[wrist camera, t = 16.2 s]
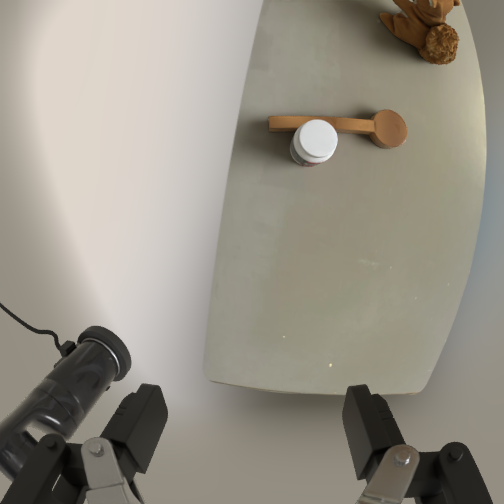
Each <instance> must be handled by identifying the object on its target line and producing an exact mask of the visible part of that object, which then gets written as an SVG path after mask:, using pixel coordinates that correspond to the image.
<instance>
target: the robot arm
mask: <svg viewBox="0 0 504 504" xmlns="http://www.w3.org/2000/svg"><path fill="white" fill-rule="evenodd" d="M0 307H1V308H2V309H3V310H4V311H5V312H6V313H8V314H9V315H10V316H11V317H13V318H14V319H15V320H17V321H18V322H19V323H21V324H22V325H23V326H25V327H26V328H27V329H29V330H31V331H33V332H35V333H38V334H49V335H52V336H53V337H54V341H55V345H56V347H57V349H58V350H59V351H60V353H61V356H62V358H61V359H60V360H59V361H58V362H57V363H56V364H55V365H54V369H53V370H52V371H51V372H50V373H49V374H48V375H47V376H46V377H45V378H44V379H43V380H42V381H41V382H40V383H39V384H38V385H37V386H36V387H35V388H34V389H33V390H32V391H31V392H30V393H29V394H28V396H27V397H26V398H25V399H24V400H23V401H22V402H21V403H20V404H19V405H18V406H17V407H16V408H15V409H14V410H13V411H12V412H11V413H10V414H9V415H8V416H7V417H6V418H4V419H3V420H2V421H1V422H0V471H1V472H2V473H3V474H4V475H5V476H6V477H7V478H8V479H9V480H10V481H11V482H12V484H11V486H10V488H9V489H8V491H7V493H6V494H5V496H4V498H3V500H2V501H1V503H0V504H83V503H84V501H85V498H87V501H88V504H146V502H145V500H144V498H143V496H142V494H141V492H140V489H139V487H138V485H137V483H136V480H135V479H134V475H135V473H136V472H139V473H143V474H145V473H146V471H147V468H148V466H149V463H150V461H151V458H152V456H153V454H154V451H155V448H156V446H157V444H158V441H159V439H160V436H161V434H162V432H163V429H164V427H165V424H166V422H167V418H168V410H167V406H166V403H165V400H164V397H163V394H162V391H161V388H160V386H158V385H151V384H141V386H140V387H139V389H138V391H137V392H136V393H133V392H132V393H131V394H129V395H128V396H126V397H125V398H124V399H123V400H122V402H121V404H120V405H119V408H117V410H116V412H115V414H114V415H113V416H112V418H111V419H110V421H109V422H108V424H107V426H106V427H105V429H104V431H103V432H102V434H101V435H100V437H94V438H91V439H89V440H87V441H85V442H84V444H75V443H66V441H67V440H69V439H71V437H72V436H73V435H74V433H75V432H76V430H77V429H78V428H79V426H80V425H81V424H82V422H83V421H84V419H85V418H86V416H87V415H88V414H89V412H90V411H91V409H92V408H93V407H94V405H95V404H96V403H97V401H98V400H99V399H100V397H101V396H102V394H103V393H104V392H105V391H107V390H108V389H109V388H110V386H109V385H110V384H111V382H112V381H113V380H114V378H115V377H116V376H117V375H118V374H119V373H120V370H121V364H120V361H119V358H118V356H117V354H116V353H115V352H114V350H113V349H112V348H111V347H110V346H109V345H108V344H107V343H105V342H104V341H102V340H100V339H98V338H95V337H88V338H86V339H84V340H83V341H82V342H81V341H80V342H78V343H77V344H76V345H75V343H74V342H72V341H66V342H65V343H64V344H63V345H62V346H60V344H59V342H58V336H57V334H55V333H54V332H53V331H50V330H38V329H35V328H33V327H31V326H30V325H28V324H27V323H25V322H24V321H22V320H21V319H20V318H18V317H17V316H16V315H14V314H13V313H11V312H10V311H9V310H8V309H7V308H5V307H4V306H3V305H2V304H1V303H0ZM342 417H343V418H342V419H343V425H344V428H345V432H346V436H347V440H348V444H349V448H350V452H351V456H352V459H353V463H354V468H355V472H356V476H357V480H362V479H366V481H367V486H366V488H365V489H364V491H363V493H362V494H361V496H360V497H359V499H358V500H357V502H356V503H355V504H401V502H402V500H403V498H412V497H414V499H415V502H416V504H493V502H492V500H491V497H490V495H489V492H488V490H487V487H486V485H485V483H484V481H483V478H482V476H481V474H480V472H479V469H478V467H477V465H476V463H475V461H474V459H473V457H472V455H471V453H470V451H469V449H468V448H467V446H466V445H464V444H462V443H460V442H451V443H448V444H446V445H445V446H444V447H443V448H442V449H441V450H440V451H438V452H418V451H417V450H416V449H415V448H413V447H412V446H409V445H406V443H405V441H404V439H403V437H402V435H401V433H400V430H399V428H398V426H397V424H396V421H395V419H394V418H393V415H392V413H391V411H390V408H389V406H388V404H387V402H386V400H384V399H383V398H382V397H381V396H380V395H379V394H373V395H371V393H370V391H369V389H368V387H367V385H366V384H363V385H356V386H349V387H348V389H347V393H346V398H345V402H344V407H343V413H342ZM27 427H33V428H35V429H38V430H41V431H42V432H44V433H46V434H47V435H45V436H43V437H42V438H41V439H40V441H39V442H38V441H37V440H36V439H35V438H34V437H32V435H31V434H30V433H29V432H28V431H27ZM60 474H61V476H60V478H59V480H58V481H57V483H56V485H55V487H54V489H53V491H52V488H53V486H54V484H55V482H56V480H57V478H58V476H59V475H60Z"/></svg>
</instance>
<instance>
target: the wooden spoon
mask: <svg viewBox="0 0 504 504" xmlns="http://www.w3.org/2000/svg"><path fill="white" fill-rule="evenodd" d="M268 118H269V132H296V130H297V129H298V128H299V127H300V126H301V125H303V124H305V123H306V122H308V121H311V120H323V121H326V122H327V123H329V124H330V125H331V126H332V127H333V128H334V129H335V131H336V133H353V134H366V135H369V137H370V139H371V140H372V141H373V142H374V143H375V144H376V145H377V146H379V147H381V148H384V149H390V148H394V147H397V146H400V145H402V144H403V143H404V141H405V140H406V137H407V127H406V124H405V122H404V120H403V119H402V117H401V116H400V115H399V114H397V113H396V112H394V111H391V110H382V111H379V112H378V113H376V114H375V115H373V116H372V117H371V118H370V119H369V120H365V119H354V118H341V117H321V116H269V117H268Z"/></svg>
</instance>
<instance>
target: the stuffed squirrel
mask: <svg viewBox="0 0 504 504" xmlns="http://www.w3.org/2000/svg"><path fill="white" fill-rule="evenodd" d="M393 1H394V3H395V4H396V5H397V6H399V7H400V8H401V9H402V10H403V11H401V12H400V13H397V14H395V16H393V15H391V14H388V13H381V14H380V19H381V20H382V22H383V23H384V24H385V25H386V26H387V28H388V29H389V30H390V31H391V32H392V33H393V34H394V35H395V36H396V37H398V38H399V39H401V40H403V41H405V42H407V43H409V44H411V45H413V46H415V47H417V50H418V51H419V54H421V57H423V58H424V60H426V61H428V62H430V63H431V64H434V63H435V64H438V65H442V64H446V65H447V64H448V63H451V61H453V60H454V59H455V56H456V50H457V48H458V47H457V46H458V41H459V39H458V35H457V33H456V31H455V29H453V28H451V26H449V25H447V24H446V23H445V20H446V15H447V13H449V12H450V11H451V10H452V8H453V6H459V5H460V1H459V0H413V2H411V1H409V0H393Z"/></svg>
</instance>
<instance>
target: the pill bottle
mask: <svg viewBox="0 0 504 504" xmlns="http://www.w3.org/2000/svg"><path fill="white" fill-rule="evenodd" d="M336 145H337V134H336V131H335V129H334V128H333V127H332V126H331V125H330V124H329V123H327V122H326V121H323V120H311V121H308V122H306V123H305V124H303V125H301V126H300V127H299V128H298V129H297V130H296V132H295V134H294V136H293V138H292V141H291V143H290V153H291V155H292V157H293V159H294V160H295V161H296V162H297V163H298V164H300V165H302V166H307V167H311V166H315V165H318V164H320V163H322V162H324V161H326V160H327V159H329V158H330V157H331V156H332V154H333V153H334V150H335V148H336Z"/></svg>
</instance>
